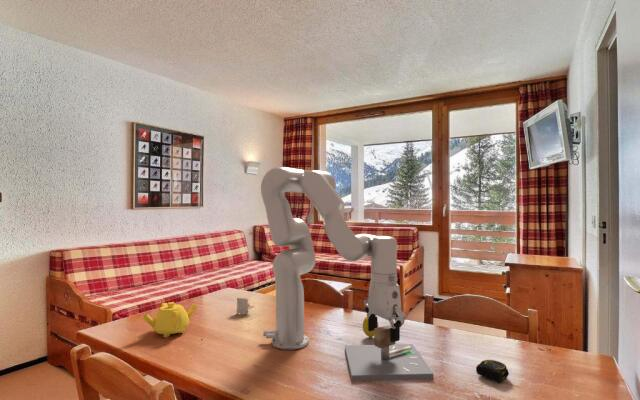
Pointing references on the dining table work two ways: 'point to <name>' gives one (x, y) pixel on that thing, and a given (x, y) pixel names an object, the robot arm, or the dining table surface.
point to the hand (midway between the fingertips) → (383, 335)
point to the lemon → (365, 328)
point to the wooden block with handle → (386, 342)
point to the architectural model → (243, 306)
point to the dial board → (386, 364)
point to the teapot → (170, 319)
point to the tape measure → (492, 370)
